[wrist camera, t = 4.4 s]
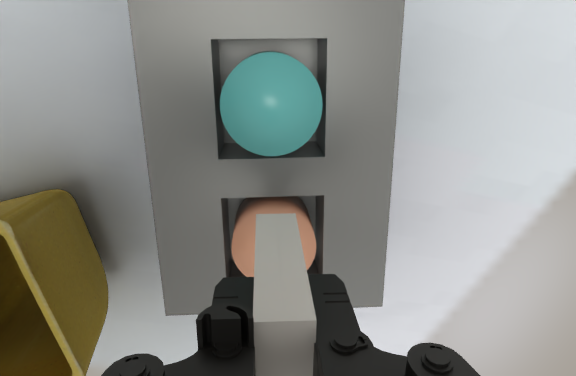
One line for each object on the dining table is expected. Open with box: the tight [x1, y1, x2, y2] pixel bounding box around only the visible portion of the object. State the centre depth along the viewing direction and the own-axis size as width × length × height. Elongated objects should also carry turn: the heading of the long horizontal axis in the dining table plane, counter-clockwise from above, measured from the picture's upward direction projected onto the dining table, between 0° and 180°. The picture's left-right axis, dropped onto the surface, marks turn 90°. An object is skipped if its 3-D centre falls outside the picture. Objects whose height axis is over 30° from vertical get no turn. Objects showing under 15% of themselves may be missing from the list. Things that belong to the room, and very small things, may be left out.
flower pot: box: [0, 189, 108, 376], centre depth 23 cm, size 9×9×9 cm
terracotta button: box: [231, 196, 316, 277], centre depth 24 cm, size 4×4×3 cm
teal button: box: [220, 51, 323, 156], centre depth 20 cm, size 4×4×3 cm
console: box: [127, 0, 405, 316], centre depth 22 cm, size 12×23×5 cm, turn 1°
